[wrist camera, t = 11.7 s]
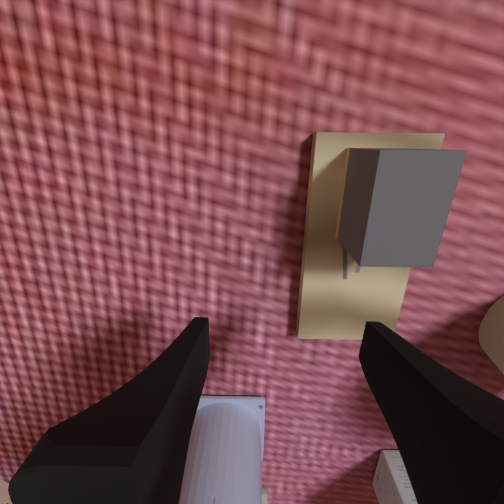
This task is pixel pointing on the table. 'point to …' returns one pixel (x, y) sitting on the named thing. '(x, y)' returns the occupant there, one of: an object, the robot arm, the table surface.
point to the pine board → (335, 255)
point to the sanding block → (396, 204)
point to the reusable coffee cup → (493, 333)
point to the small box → (392, 480)
